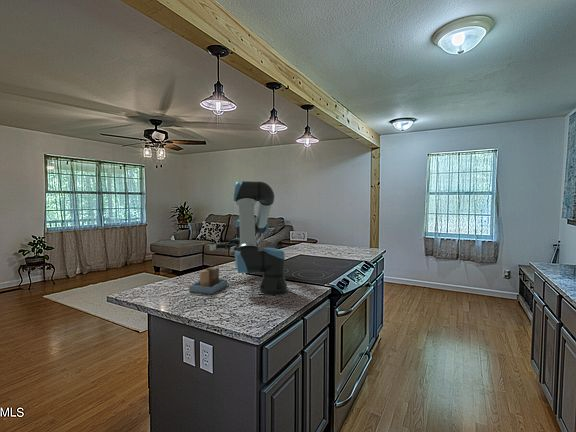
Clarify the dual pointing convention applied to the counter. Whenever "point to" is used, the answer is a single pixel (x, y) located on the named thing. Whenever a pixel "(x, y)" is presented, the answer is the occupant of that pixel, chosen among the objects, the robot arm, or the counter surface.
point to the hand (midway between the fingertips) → (220, 249)
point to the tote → (207, 290)
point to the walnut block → (213, 276)
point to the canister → (204, 278)
